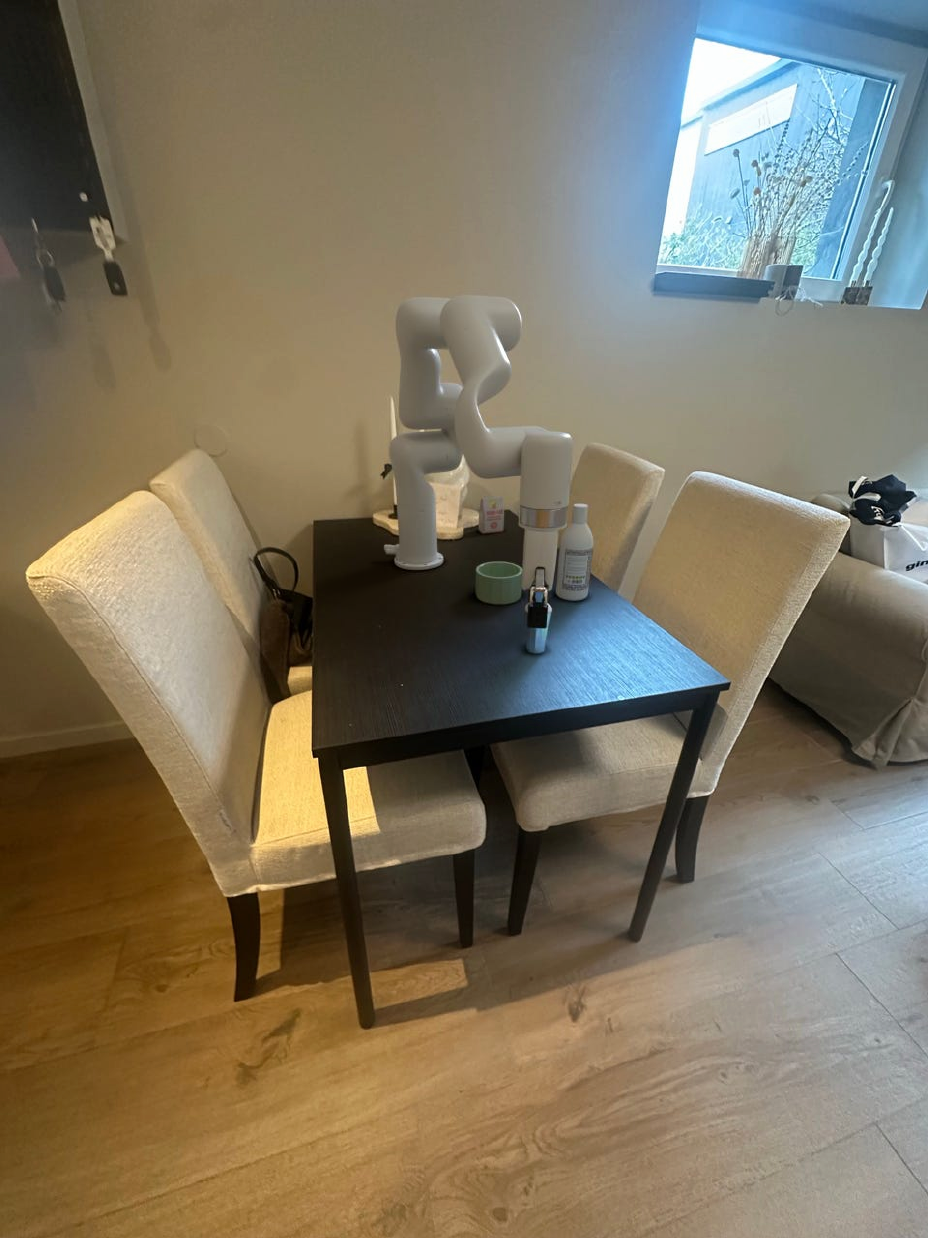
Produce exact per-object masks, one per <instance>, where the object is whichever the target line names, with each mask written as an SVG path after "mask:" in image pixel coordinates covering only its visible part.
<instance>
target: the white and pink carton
mask: <svg viewBox="0 0 928 1238" xmlns="http://www.w3.org/2000/svg"><path fill="white" fill-rule="evenodd" d="M503 501H504V499H503V497H502V496H501V497H489V498H481V499H480V504H479V509H478V531H479V532H480V533H482V534H491V533H501V532H504V529H505V526H504V525H505V510H504V502H503Z"/></svg>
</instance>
